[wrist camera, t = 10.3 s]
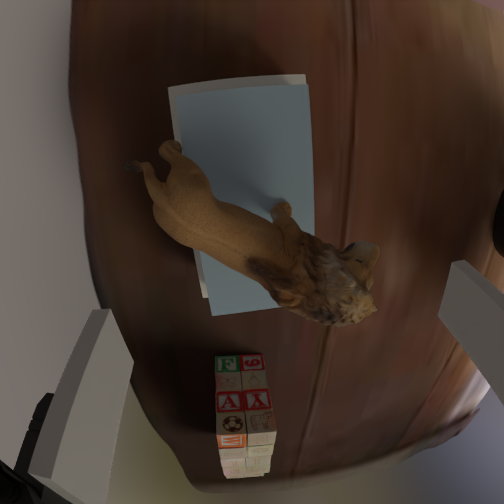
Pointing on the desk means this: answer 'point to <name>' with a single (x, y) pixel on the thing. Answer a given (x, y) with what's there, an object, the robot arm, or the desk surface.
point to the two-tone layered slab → (247, 163)
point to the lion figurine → (262, 245)
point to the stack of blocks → (243, 416)
